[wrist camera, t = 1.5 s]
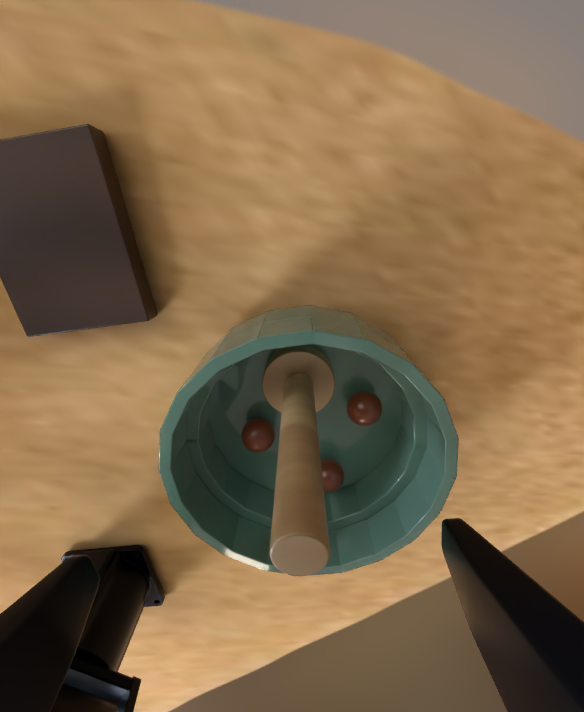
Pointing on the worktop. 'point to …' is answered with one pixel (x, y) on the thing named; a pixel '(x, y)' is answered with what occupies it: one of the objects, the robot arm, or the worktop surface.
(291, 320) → the bowl
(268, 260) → the worktop surface
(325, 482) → the bead
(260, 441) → the bead
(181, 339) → the worktop surface
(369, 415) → the bead
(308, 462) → the wooden pestle
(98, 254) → the dark grey slate tile
